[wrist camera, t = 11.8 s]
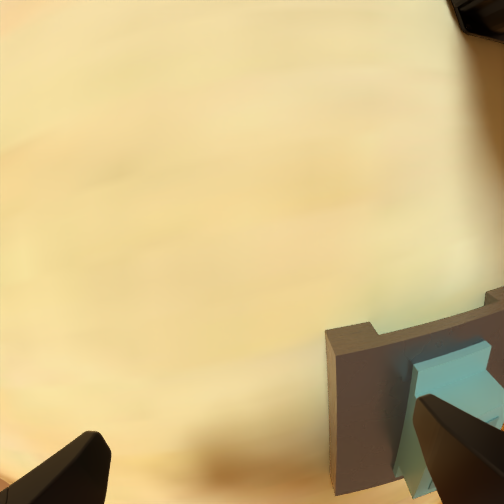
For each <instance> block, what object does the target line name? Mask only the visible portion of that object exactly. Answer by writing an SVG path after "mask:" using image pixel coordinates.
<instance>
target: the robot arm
mask: <svg viewBox="0 0 504 504" xmlns="http://www.w3.org/2000/svg"><path fill="white" fill-rule="evenodd" d="M451 1H452V4H453V6H454V9H455V12H456V15H457V18H458V21H459V24H460V27H461V29H462V31H463V32H464V33H466V34H468V35H472V36H477V37H481V38H485V39H489V40H493V41H497V42H500V43H504V0H451ZM466 26H467V27H468V28H467V27H466ZM413 425H414V429H415V432H416V435H417V438H418V441H419V444H420V447H421V450H422V454H423V457H424V460H425V463H426V466H427V469H428V471H429V473H430V476H431V478H432V480H433V482H434V485H435V487H436V489H437V491H438V494H439V496H440V498H441V501H442V503H443V504H504V431H502V430H500V429H498V428H496V427H494V426H492V425H490V424H488V423H486V422H484V421H482V420H480V419H478V418H476V417H474V416H473V415H471V414H469V413H467V412H465V411H463V410H461V409H459V408H457V407H455V406H454V405H452V404H450V403H448V402H446V401H444V400H442V399H441V398H439V397H437V396H435V395H433V394H426V395H423V396H420V397H418V398H417V399H416V403H415V408H414V413H413ZM110 462H111V450H110V448H109V446H108V445H107V443H106V442H105V440H104V438H103V437H102V435H101V434H100V433H99V432H97V431H86V432H84V433H83V434H81V435H80V436H79V437H77V438H76V439H75V440H73V441H72V442H71V443H69V444H68V445H66V446H65V447H64V448H62V449H61V450H60V451H58V452H57V453H55V454H54V455H53V456H51V457H50V458H48V459H47V460H46V461H44V462H43V463H41V464H40V465H39V466H37V467H36V468H34V469H33V470H32V471H30V472H29V473H27V474H26V475H24V476H23V477H22V478H20V479H19V480H17V481H16V482H14V483H13V484H11V485H10V486H9V487H7V488H6V489H4V490H3V491H1V492H0V504H104V502H105V497H106V491H107V484H108V476H109V469H110Z"/></svg>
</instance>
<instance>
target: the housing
mask: <svg viewBox="0 0 504 504" xmlns="http://www.w3.org/2000/svg"><path fill="white" fill-rule="evenodd" d="M490 351H491V345H490V344H489V343H488V342H487V341H483V342H480V343H477V344H475V345H472V346H469V347H466V348H464V349H461V350H458V351H455V352H452V353H449V354H446V355H443V356H440V357H436V358H433V359H430V360H427V361H423V362H420V363H416V364H413V370H412V378H411V385H410V391H409V398H408V404H407V409H406V415H405V420H404V425H403V430H402V435H401V440H400V444H399V448H398V453H397V457H396V461H395V465H394V469H393V473H394V475H395V478H396V477H400V476H404V479H405V481H406V484H407V486H408V488H409V491H410V493H411V496H412V498H413V499H415V498H417V497H420V496H423V495H426V494H428V493H431V492H433V491H436V490H437V489H436V487H435V485H434V482H433V480H432V478H431V476H430V473H429V471H428V469H427V466H426V463H425V460H424V457H423V454H422V450H421V447H420V444H419V441H418V438H417V435H416V432H415V429H414V425H413V413H414V408H415V403H416V399H417V398H418V397H420V396H423V395H426V394H433V395H435V396H437V397H439V398H441V399H442V400H444V401H446V402H448V403H450V404H452V405H454V406H455V407H457V408H459V409H461V410H463V411H465V412H467V413H469V414H471V415H473V416H474V417H476V418H478V419H480V420H482V421H484V422H486V423H488V424H490V425H492V426H494V427H496V428H498V429H500V430H501V427H502V425H503V423H504V388H503V387H502V386H501V385H500V384H499V383H498V382H497V381H496V380H495V379H494V378H493V377H492V376H491V374H490V373H489V372H488V371H487V370H486V367H487V363H488V359H489V355H490Z"/></svg>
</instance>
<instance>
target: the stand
mask: <svg viewBox="0 0 504 504" xmlns="http://www.w3.org/2000/svg"><path fill="white" fill-rule="evenodd" d="M325 337H326V353H327V371H328V394H329V429H330V475H331V480H332V484H333V489H334V493H335V496H338V495H343V494H347V493H352V492H356V491H360V490H364V489H368V488H372V487H376V486H379V485H383V484H386V483H390V482H393V481H396V480H399V479H402V478H404V476H400V477H396V478H395V475H394V473H393V469H394V465H395V461H396V457H397V453H398V448H399V444H400V440H401V435H402V430H403V425H404V420H405V415H406V409H407V404H408V398H409V391H410V385H411V378H412V370H413V364H416V363H420V362H423V361H427V360H430V359H433V358H436V357H440V356H443V355H446V354H449V353H452V352H455V351H458V350H461V349H464V348H466V347H469V346H472V345H475V344H477V343H480V342H483V341H487V342H488V343H489V344H490V345H491V351H490V355H489V359H488V363H487V367H486V370H487V371H488V372H489V373H490V374H491V376H492V377H493V378H494V379H495V380H496V381H497V382H498V383H499V384H500V385H501V386H502V387H503V388H504V287H500V288H497V289H494V290H491V291H488V292H486V297H485V304H484V306H483V307H480V308H477V309H474V310H471V311H467V312H464V313H461V314H457V315H454V316H451V317H447V318H444V319H440V320H437V321H433V322H429V323H426V324H422V325H418V326H414V327H410V328H406V329H402V330H398V331H394V332H390V333H385V334H381V335H378V334H377V332H376V331H375V329H374V328H373V326H372V325H371V323H370V322H366V323H361V324H356V325H351V326H346V327H341V328H335V329H330V330H325Z"/></svg>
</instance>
